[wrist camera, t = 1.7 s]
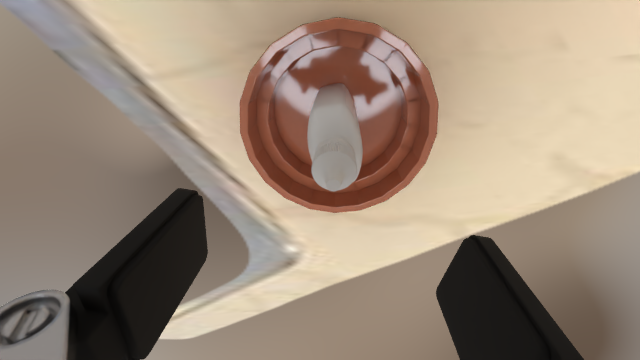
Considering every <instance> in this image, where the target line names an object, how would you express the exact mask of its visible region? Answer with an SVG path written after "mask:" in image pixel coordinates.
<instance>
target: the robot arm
mask: <svg viewBox="0 0 640 360" xmlns="http://www.w3.org/2000/svg"><path fill="white" fill-rule="evenodd" d="M207 253H208V250H207V239H206V229H205V217H204V207H203V198H202V196H199V195H198V192H197V191H194V190H188V189H182V188H178V189H177V190H175V191H174V192H173V193H172V194H171V195H170V196H169V197H168V198H167V199H166V200H165V201H163V202H162V203H161V204H160V205H159V206H158V207H157V208H156V209H155V210H154V211H153V212H151V213H150V214H149V215H148V216H147V217H146V218H145V219H144V220H143V221H142V222H141V223H140V224H138V225H137V226H136V227H135V228H134V229H133V230H132V231H131V232H130V233H129V234H128V235H126V236H125V237H124V238H123V239H122V240H121V241H120V242H119V243H118V244H117V245H116V246H115V247H113V248H112V249H111V250H110V251H109V252H108V253H107V254H106V255H105V256H104V257H103V258H102V259H100V260H99V261H98V262H97V263H96V264H95V265H94V266H93V267H92V268H91V269H89V270H88V271H87V272H86V273H85V274H84V275H83V276H82V277H81V278H80V279H79V280H77V282H75V283H74V284H73V286H72V287H71V288H70V289H69V290H68V291H66V292H65V293H64V292H62V291H58V290H42V291H37V292H33V293H29V294H26V295H24V296H21V297H19V298H16V299H14V300H12V301H10V302H8V303H6V304H5V305H3V306H1V307H0V360H140V359H145V358H146V357H147V356H148V354H149V353H150V352H151V350H152V348H153V347H154V345H155V343H156V342H157V340H158V338H159V337H160V335H161V333H162V332H163V330H164V328H165V327H166V325H167V324H168V322H169V320H170V319H171V317H172V315H173V314H174V312H175V310H176V309H177V307H178V305H179V304H180V302H181V300H182V299H183V297H184V296H185V294H186V292H187V291H188V289H189V287H190V286H191V284H192V282H193V281H194V279H195V277H196V276H197V274H198V272H199V271H200V269H201V267H202V266H203V264H204V263H205V261H206V258H207ZM436 296H437V300H438V302H439V305H440V308H441V310H442V313H443V316H444V318H445V321H446V323H447V326H448V328H449V332H450V334H451V337H452V340H453V342H454V345H455V347H456V350H457V353H458V355H459V358H460V360H584V359H583V358H582V356H581V355H580V354H579V353H578V351H577V350H576V348H575V347H574V346H573V345H572V343H571V342H570V341H569V339H568V338H567V337H566V335H565V334H564V333H563V331H562V330H561V329H560V328H559V326H558V325H557V324H556V322H555V321H554V320H553V318H552V317H551V316H550V314H549V313H548V312H547V311H546V309H545V308H544V307H543V305H542V304H541V303H540V301H539V300H538V299H537V297H536V296H535V295H534V294H533V292H532V291H531V290H530V288H529V287H528V286H527V284H526V283H525V282H524V281H523V279H522V278H521V276H520V275H519V274H518V272H517V271H516V270H515V269H514V267H513V266H512V265H511V263H510V262H509V261H508V259H507V258H506V257H505V255H504V254H503V253H502V252H501V250H500V249H499V248H498V246H497V245H496V244H495V242H494V241H493V240H492V239H491V238H488V237H481V236H476V235H471V236H470V237H469V238H466V239H464V240H463V242H462V244H461V246H460V247H459V249H458V251H457V253H456V255H455V256H454V258H453V260H452V262H451V264H450V265H449V267H448V269H447V271H446V273H445V274H444V276H443V278H442V280H441V282H440V284H439V286H438V287H437V291H436Z"/></svg>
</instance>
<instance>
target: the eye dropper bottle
mask: <svg viewBox="0 0 640 360" xmlns="http://www.w3.org/2000/svg"><path fill="white" fill-rule="evenodd" d="M307 138H308V148H309V153H310V157H311V160H312V168H311V169H312V170H311V171H312V176H313V178H314V180H315V181H316V183H318V185H319V186H321V187H323V188H325V189H327V190H329V191H333V192H334V191H337V190H341V189H345V188H347V187H348V186H349V185H351V184H352V182H354V181H355V180H356V179H357V177H358V175H359V172H360V168H361V164H362V155H363V148H362V140H361V134H360V129H359V123H358V118H357V113H356V109H355V105H354V102H353V99H352V97H351V95H350V93H349V91H348V89H347V88H346V86H345V85H344V84H342V83H337V84H331V85H327V86H323V87H321V88H320V89H319V91H318V93H317V96H316V98H315V101H314V103H313V106H312V109H311V113H310V116H309V122H308V132H307Z"/></svg>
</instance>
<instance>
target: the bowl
mask: <svg viewBox="0 0 640 360" xmlns="http://www.w3.org/2000/svg"><path fill="white" fill-rule="evenodd" d="M337 83H342V84H344V85H345V86H346V88H347V89H348V91H349V93H350V95H351V97H352V99H353V102H354V105H355V109H356V113H357V118H358V123H359V129H360V134H361V140H362V148H363V155H362V164H361V168H360V172H359V175H358V177H357V179H356V180H355V181H354V182H352V184H351V185H349V186H348V187H347V188H345V189H341V190H337V191H334V192H333V191H329V190H327V189H325V188H323V187H321V186H319V185H318V183H316V181H315V180H314V178H313V176H312V171H311V170H312V169H311V168H312V160H311V157H310V153H309V148H308V138H307V132H308V122H309V116H310V113H311V109H312V106H313V103H314V101H315V98H316V96H317V93H318V91H319V89H320V88H321V87H323V86H327V85H331V84H337ZM437 123H438V99H437V96H436V92H435V89H434V86H433V83H432V79H431V76H430V73H429V71H428V69H427V68H426V66H425V65H424V64H423V62H422V61H421V60H420V58H419V57H418V56H417V55H416V53H415V52H414V51H413V49H412V48H411V47H410V46H409V44H408V43H407V42H406V41H404V40H402V39H401V38H399V37H397V36H396V35H394V34H392V33H391V32H389V31H387V30H386V29H384V28H382V27H381V26H379V25H377V24H375V23H370V22H364V21H358V20H352V19H346V18H340V17H339V18H338V17H336V18H332V19H327V20H322V21H317V22H312V23H307V24H302V25H300V26H299V27H297V28H295V29H294V30H292V31H291V32H289V33H287V34H286V35H284V36H283V37H281V38H280V39H278V40H276V41H275V42H273V43H272V44H271V45H270V46H269V47H268V48H267V50H266V51H265V52H264V54H263V55H262V56H261V57H260V59H259V60H258V61H257V63H256V64H255V65H254V67H253V68H252V69H251V70H250V72H249V75H248V78H247V81H246V85H245V88H244V91H243V94H242V97H241V100H240V133H241V136H242V139H243V142H244V145H245V148H246V151H247V154H248V157H249V160H250V161H251V163H252V164H253V166H254V167H255V168H256V170H257V171H258V173H259V174H260V175H261V177H262V178H263V180H264V181H265V182H266V183H267V184H268V185H270V186H271V187H272V188H273V189H274V190H276V191H277V192H278V193H279V194H281V195H282V196H283V197H284V198H286V199H288V200H291V201H293V202H295V203H297V204H300V205H302V206H304V207H307V208H309V209H314V210H320V211H326V212H333V213H334V212H335V213H337V212H348V211H358V210H362V209H365V208H368V207H371V206H373V205H376V204H379V203H382V202H384V201H386V200H388V199H389V198H391V197H392V196H393V195H395V194H396V193H398V192H399V191H400V190H402V189H403V188H405V187H406V186H407V185H408V184H409V183H410V182H411V181H412V179H413V178H414V177H415V176H416V174H417V173H418V172H419V171H420V169H421V168H422V167H423V166H424V164H425V162H426V161H427V159H428V156H429V153H430V151H431V148H432V146H433V143H434V141H435V138H436V136H437V135H436V134H437Z"/></svg>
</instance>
